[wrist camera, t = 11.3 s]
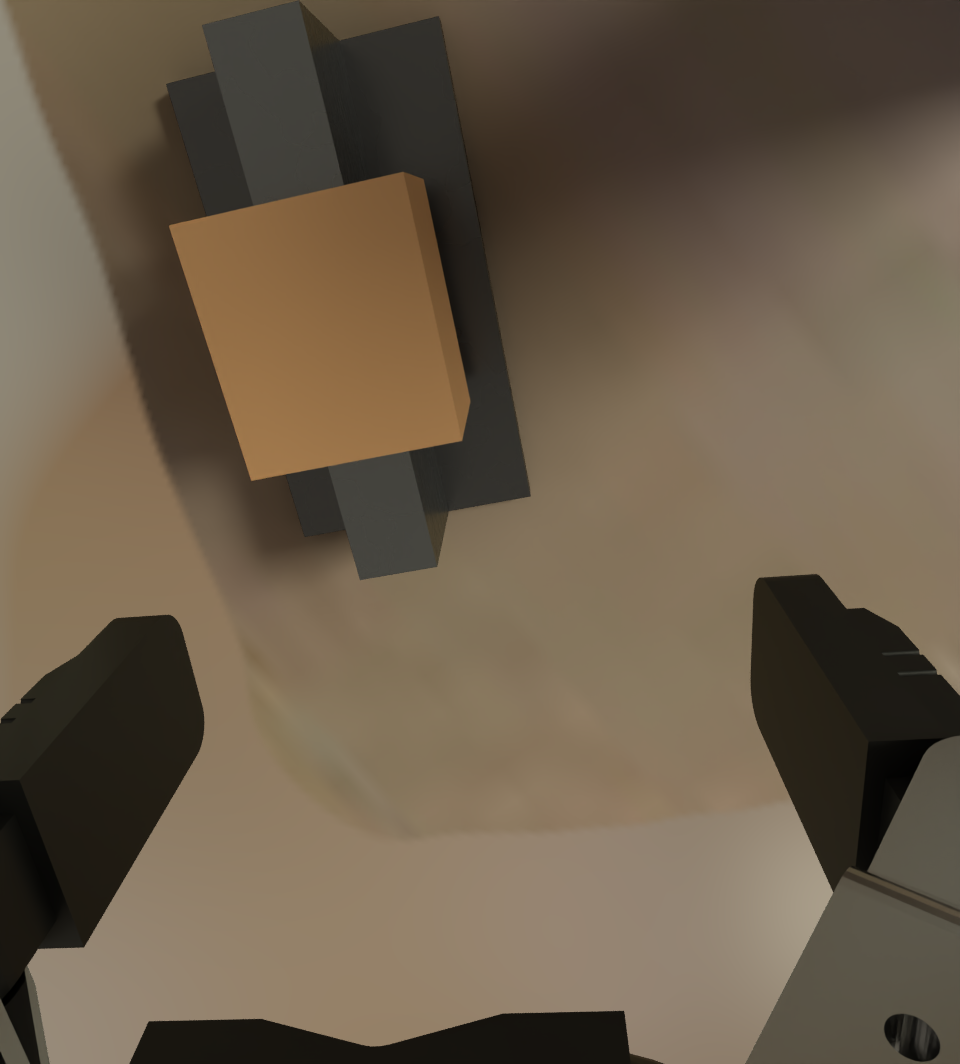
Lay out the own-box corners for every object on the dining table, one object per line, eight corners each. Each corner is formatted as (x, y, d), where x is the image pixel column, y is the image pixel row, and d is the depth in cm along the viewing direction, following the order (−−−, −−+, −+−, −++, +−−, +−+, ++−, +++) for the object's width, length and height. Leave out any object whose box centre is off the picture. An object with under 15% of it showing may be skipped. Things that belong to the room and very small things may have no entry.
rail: (175, 87, 26) (86, 54, 21) (440, 21, 26) (421, -32, 20) (309, 529, 32) (267, 596, 27) (530, 489, 31) (534, 549, 26)
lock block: (470, 401, 27) (462, 440, 22) (294, 435, 28) (251, 480, 23) (423, 179, 24) (403, 172, 20) (231, 222, 25) (168, 225, 20)
